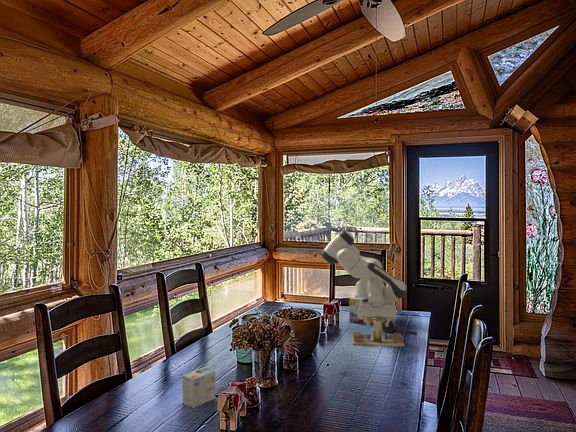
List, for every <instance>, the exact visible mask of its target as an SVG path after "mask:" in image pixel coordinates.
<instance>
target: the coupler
mask: <svg viewBox="0 0 576 432" xmlns="http://www.w3.org/2000/svg"><path fill="white" fill-rule="evenodd" d="M372 338H373V341H374V342H382V338H383V329H382V317H373V324H372Z"/></svg>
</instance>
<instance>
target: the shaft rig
mask: <svg viewBox="0 0 576 432" xmlns="http://www.w3.org/2000/svg"><path fill="white" fill-rule="evenodd" d="M352 333H353V336H352V338H351V340H352V342H351V343H352V345H353V346H373V347H374V346H377V347H378V346H379V347H405V343H404V341H403V338H404V337H403V334H402V333H401V332H393V334H387V333H384V338H383V337H382V342H374V341H373V337H371V333H364V334H363V333H362V332H361V331H352Z"/></svg>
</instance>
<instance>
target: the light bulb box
mask: <svg viewBox="0 0 576 432" xmlns="http://www.w3.org/2000/svg"><path fill="white" fill-rule="evenodd" d="M181 378H182V383H181V384H182V404H183V403H184V404H183V405H185V404H186V405H185V406H187V405H188V406H187V407H189V406H190V407H189V408H191V407H192V409H193V408H194V409H196V408H198V407H200V406H202V405H205V404H207V403H209V402H211V401H214V400H215V399H217V398H216V396H215V395H217V393H216V392H217V391H216V370H215V369H211V368H208V367H206V366H202V367H200V368H198V369H196V370H193V371H190V372H188V373H185V374H182V375H181ZM206 402H207V403H206ZM204 403H205V404H204ZM199 405H200V406H199ZM197 406H198V407H197ZM195 407H196V408H195Z"/></svg>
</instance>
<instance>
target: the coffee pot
mask: <svg viewBox="0 0 576 432" xmlns="http://www.w3.org/2000/svg"><path fill="white" fill-rule="evenodd" d="M385 323H387V320H385V321H384V322H383V324H382V332H384V334H387V335H391V334H392V333H394V331H398V330H400V331H404V332H406V333H408V334H412V335H414V336H417V335H418V332H417V331H414V330H410V329H406V328H403V327H399V325H398V324H399V323H398V322H396V321H395V320H390V322H389V324H388V327H385Z"/></svg>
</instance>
